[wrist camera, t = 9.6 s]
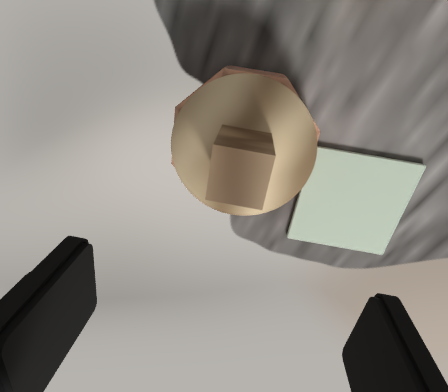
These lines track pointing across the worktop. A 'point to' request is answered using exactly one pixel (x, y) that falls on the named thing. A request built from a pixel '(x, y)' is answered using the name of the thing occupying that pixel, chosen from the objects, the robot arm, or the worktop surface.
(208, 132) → the lid
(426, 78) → the worktop surface
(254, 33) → the worktop surface
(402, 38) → the worktop surface
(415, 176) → the mat
